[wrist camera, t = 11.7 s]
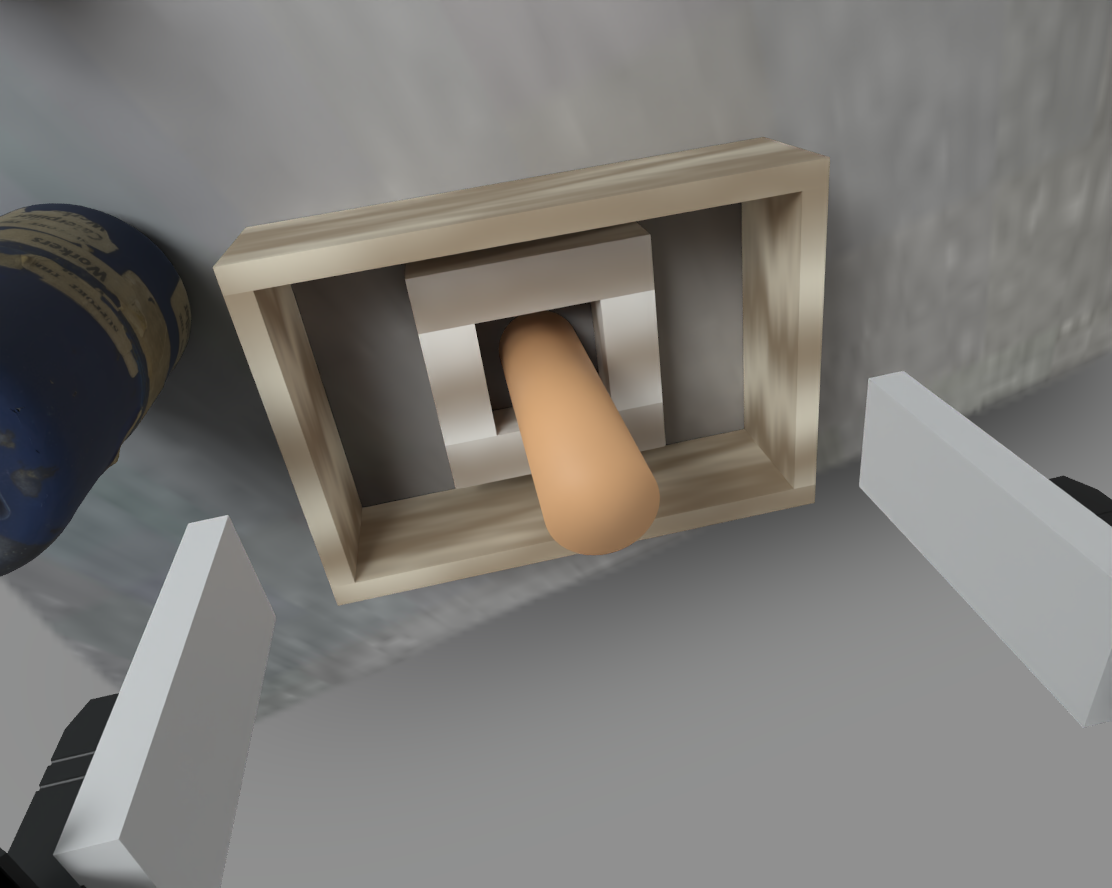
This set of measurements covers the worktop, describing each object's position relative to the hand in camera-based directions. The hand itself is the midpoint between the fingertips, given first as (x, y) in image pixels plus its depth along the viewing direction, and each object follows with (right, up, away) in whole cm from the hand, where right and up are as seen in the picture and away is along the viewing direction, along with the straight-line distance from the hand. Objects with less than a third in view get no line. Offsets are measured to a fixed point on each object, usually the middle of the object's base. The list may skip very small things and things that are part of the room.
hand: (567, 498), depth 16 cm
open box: (-1, +6, +26) cm, 27 cm away
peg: (-1, +6, +26) cm, 27 cm away
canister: (-23, +8, +21) cm, 32 cm away
